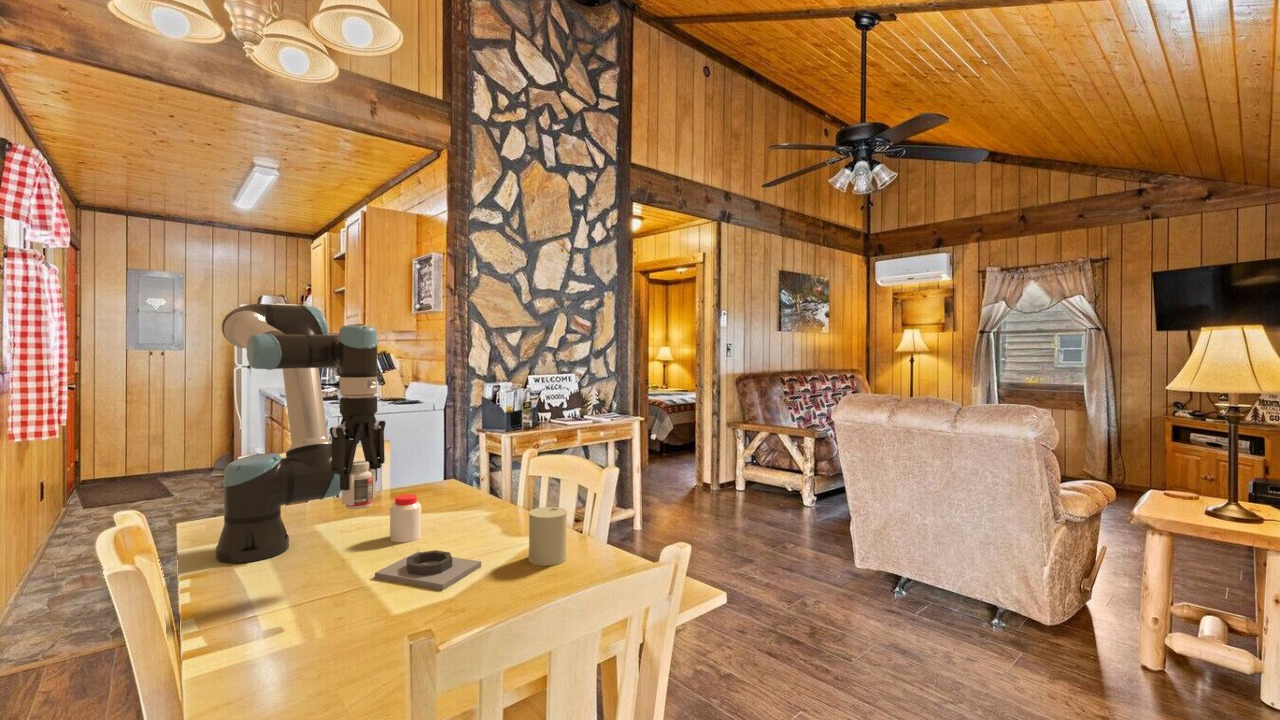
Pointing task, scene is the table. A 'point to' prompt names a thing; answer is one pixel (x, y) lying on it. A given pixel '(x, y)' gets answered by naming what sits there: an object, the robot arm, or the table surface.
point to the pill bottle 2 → (405, 519)
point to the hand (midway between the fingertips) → (359, 500)
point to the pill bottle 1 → (361, 485)
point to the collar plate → (429, 579)
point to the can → (547, 536)
